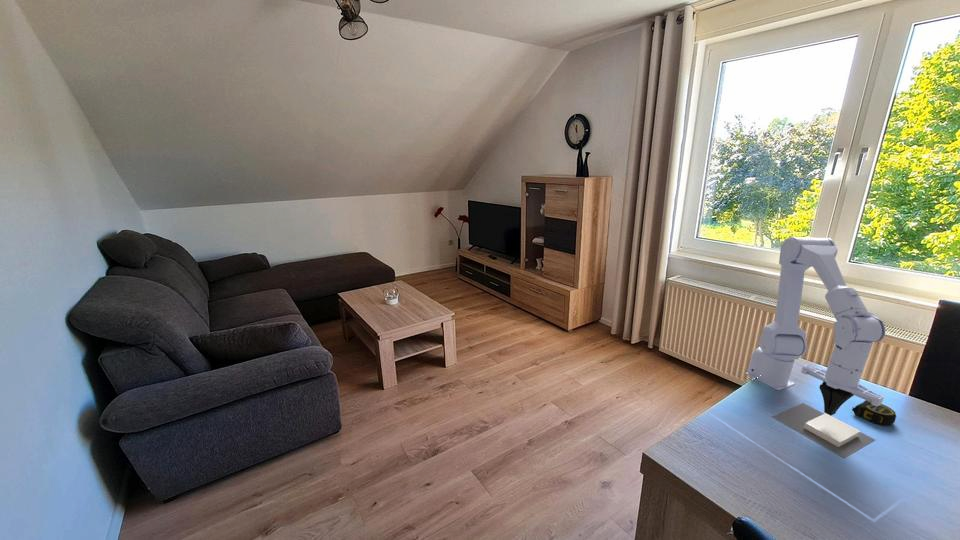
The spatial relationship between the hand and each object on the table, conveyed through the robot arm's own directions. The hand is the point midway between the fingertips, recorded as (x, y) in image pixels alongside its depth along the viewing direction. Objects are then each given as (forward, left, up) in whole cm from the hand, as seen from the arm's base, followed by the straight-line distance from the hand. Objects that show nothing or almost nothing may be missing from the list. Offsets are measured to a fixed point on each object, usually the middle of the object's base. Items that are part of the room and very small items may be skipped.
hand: (829, 412), depth 91 cm
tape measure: (+2, +17, -6) cm, 18 cm away
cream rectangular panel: (-2, 0, -4) cm, 4 cm away
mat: (-1, 0, -5) cm, 5 cm away
